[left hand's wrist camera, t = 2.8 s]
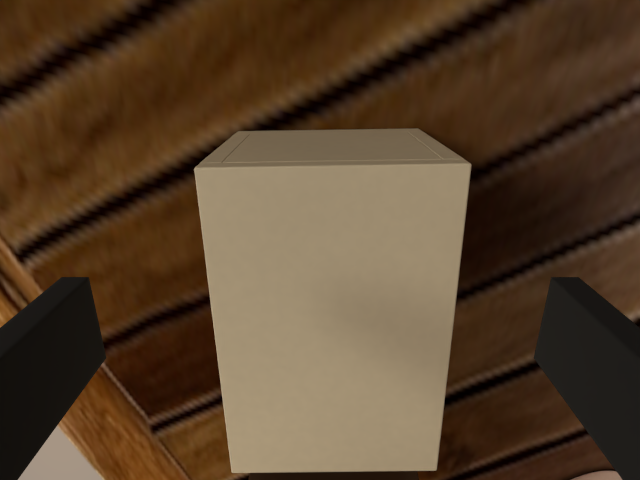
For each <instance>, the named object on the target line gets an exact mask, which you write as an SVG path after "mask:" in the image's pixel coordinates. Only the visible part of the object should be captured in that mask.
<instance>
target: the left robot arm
mask: <svg viewBox="0 0 640 480" xmlns="http://www.w3.org/2000/svg"><path fill="white" fill-rule="evenodd" d="M105 359H106V355H105V350H104V346H103V341H102V336H101V332H100V327H99V323H98V318H97V313H96V309H95V304H94V300H93V295H92V291H91V286H90V281H89V277H61V278H60V279H59V280H58V281H57V282H55V283H54V284H53V285H52V286H50V287H49V288H48V289H47V290H46V291H44V292H43V293H42V294H41V295H40V296H38V297H37V298H36V299H35V300H34V301H32V302H31V303H30V304H29V305H27V306H26V307H25V308H24V309H23V310H21V311H20V312H19V313H18V314H17V315H15V316H14V317H13V318H12V319H11V320H9V321H8V322H7V323H6V324H4V325H3V326H2V327H1V328H0V480H18V478H19V477H20V476H21V474H22V473H23V471H24V470H25V469H26V467H27V466H28V465H29V463H30V462H31V461H32V459H33V458H34V456H35V455H36V454H37V452H38V451H39V449H40V448H41V447H42V445H43V444H44V443H45V441H46V440H47V439H48V437H49V436H50V434H51V433H52V432H53V430H54V429H55V428H56V426H57V425H58V423H59V422H60V421H61V419H62V418H63V417H64V415H65V414H66V412H67V411H68V410H69V408H70V407H71V406H72V404H73V403H74V401H75V400H76V399H77V397H78V396H79V395H80V393H81V392H82V390H83V389H84V388H85V386H86V385H87V384H88V382H89V381H90V379H91V378H92V377H93V375H94V374H95V373H96V371H97V370H98V368H99V367H100V366H101V364H102V363H103V362H104V360H105ZM534 359H535V360H536V362H537V363H538V364H539V366H540V367H541V368H542V370H543V371H544V373H545V374H546V375H547V377H548V378H549V379H550V381H551V382H552V384H553V385H554V386H555V388H556V389H557V390H558V392H559V393H560V395H561V396H562V397H563V399H564V400H565V401H566V403H567V404H568V406H569V407H570V408H571V410H572V411H573V412H574V414H575V415H576V417H577V418H578V419H579V421H580V422H581V423H582V425H583V426H584V428H585V429H586V430H587V432H588V433H589V434H590V436H591V437H592V439H593V440H594V441H595V443H596V444H597V445H598V447H599V448H600V450H601V451H602V452H603V454H604V455H605V456H606V458H607V459H608V461H609V462H610V463H611V465H612V466H613V467H614V469H615V470H616V472H617V473H618V474H619V476H620V477H621V478H622V480H640V328H639V327H638V326H637V325H636V324H634V323H633V322H632V321H631V320H629V319H628V318H627V317H626V316H625V315H623V314H622V313H621V312H620V311H619V310H617V309H616V308H615V307H614V306H613V305H611V304H610V303H609V302H608V301H606V300H605V299H604V298H603V297H602V296H600V295H599V294H598V293H597V292H596V291H594V290H593V289H592V288H591V287H590V286H588V285H587V284H586V283H585V282H583V281H582V280H581V279H580V278H579V277H551V281H550V286H549V291H548V295H547V300H546V304H545V309H544V313H543V318H542V323H541V327H540V332H539V336H538V341H537V346H536V350H535V355H534Z"/></svg>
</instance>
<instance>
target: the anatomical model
mask: <svg viewBox="0 0 640 480" xmlns="http://www.w3.org/2000/svg"><path fill="white" fill-rule="evenodd" d="M571 480H622V478H621V477H620V476H619V474H618V473H617V472H616V471H597V472H592V473H588V474H584V475H581V476H579V477H576V478H573V479H571Z"/></svg>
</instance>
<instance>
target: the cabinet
mask: <svg viewBox="0 0 640 480" xmlns="http://www.w3.org/2000/svg"><path fill="white" fill-rule="evenodd" d="M194 171H195V179H196V187H197V195H198V203H199V212H200V220H201V228H202V236H203V244H204V252H205V260H206V268H207V276H208V285H209V293H210V301H211V309H212V317H213V325H214V333H215V341H216V350H217V358H218V366H219V374H220V382H221V390H222V398H223V406H224V414H225V423H226V431H227V439H228V447H229V455H230V463H231V471H232V473H274V472H362V471H436V470H437V463H438V454H439V446H440V437H441V428H442V419H443V411H444V402H445V393H446V384H447V375H448V367H449V358H450V349H451V340H452V332H453V323H454V314H455V305H456V296H457V288H458V279H459V270H460V261H461V253H462V244H463V235H464V226H465V217H466V209H467V200H468V191H469V182H470V174H471V163H469V162H468V161H466V160H464V158H462V157H461V156H459V155H458V154H456V153H455V152H453V151H452V150H450V149H448V148H447V147H445V146H444V145H442V144H441V143H439V142H438V141H436V140H435V139H433V138H432V137H430V136H429V135H427V134H426V133H424V132H423V131H421V130H420V129H354V130H290V131H238V132H237V133H236V134H234V135H233V136H232V137H231V138H229V139H228V140H227V141H226V142H225V143H223V144H222V145H221V146H220V147H219V148H217V149H216V150H215V151H214V152H213V153H211V154H210V155H209V156H208V157H207V158H205V159H204V160H203V161H202V162H201V163H200V164H199V165H198V166H196V167H195V169H194Z"/></svg>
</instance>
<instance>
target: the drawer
mask: <svg viewBox="0 0 640 480" xmlns="http://www.w3.org/2000/svg"><path fill="white" fill-rule="evenodd" d="M249 480H419V478H418V473H417V471H362V472H274V473H250V475H249Z"/></svg>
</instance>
